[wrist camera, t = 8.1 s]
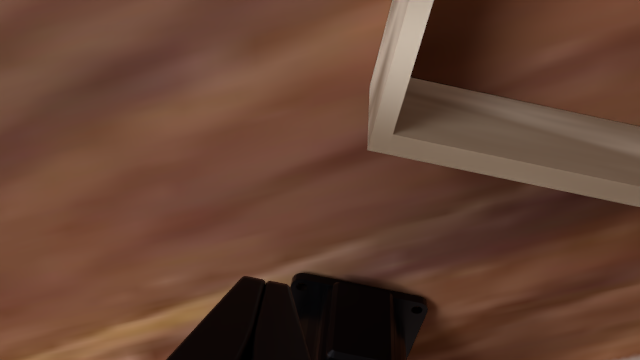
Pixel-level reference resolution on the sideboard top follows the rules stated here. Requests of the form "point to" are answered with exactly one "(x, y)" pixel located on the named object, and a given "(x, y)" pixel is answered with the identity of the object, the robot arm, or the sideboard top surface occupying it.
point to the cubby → (492, 126)
